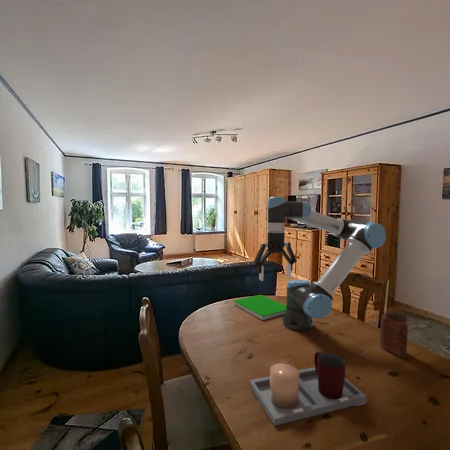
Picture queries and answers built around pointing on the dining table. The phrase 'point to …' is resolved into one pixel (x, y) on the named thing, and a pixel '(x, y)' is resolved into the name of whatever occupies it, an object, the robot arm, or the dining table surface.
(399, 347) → the brown leather pouch
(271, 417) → the holder
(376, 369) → the dining table surface
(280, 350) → the dining table surface
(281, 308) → the book
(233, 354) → the dining table surface
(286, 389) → the peach rounded cylinder
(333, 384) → the mug
